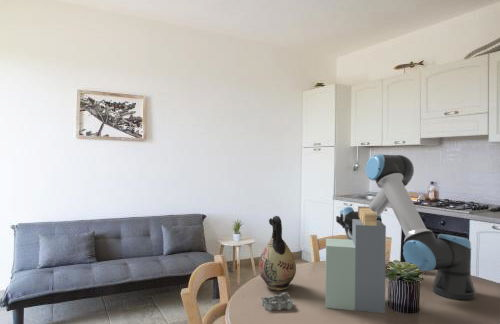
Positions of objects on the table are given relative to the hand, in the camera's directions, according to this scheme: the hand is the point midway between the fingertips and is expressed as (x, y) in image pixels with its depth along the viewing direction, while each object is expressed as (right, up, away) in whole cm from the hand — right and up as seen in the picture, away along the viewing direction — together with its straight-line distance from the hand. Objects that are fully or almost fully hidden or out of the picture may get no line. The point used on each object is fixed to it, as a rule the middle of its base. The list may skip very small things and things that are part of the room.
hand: (360, 213), depth 158 cm
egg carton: (-39, -29, -31) cm, 58 cm away
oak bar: (-5, +1, -22) cm, 23 cm away
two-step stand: (-11, -29, -27) cm, 41 cm away
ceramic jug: (-38, -29, -11) cm, 49 cm away
